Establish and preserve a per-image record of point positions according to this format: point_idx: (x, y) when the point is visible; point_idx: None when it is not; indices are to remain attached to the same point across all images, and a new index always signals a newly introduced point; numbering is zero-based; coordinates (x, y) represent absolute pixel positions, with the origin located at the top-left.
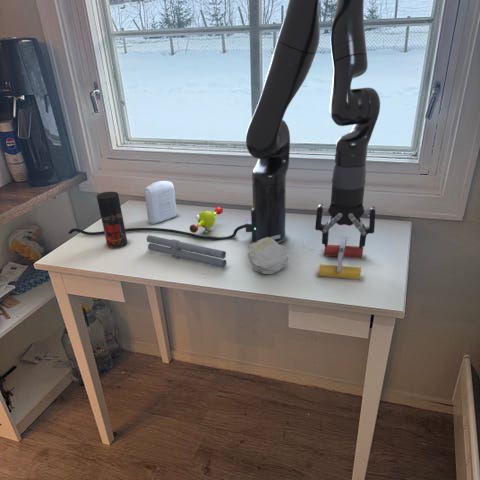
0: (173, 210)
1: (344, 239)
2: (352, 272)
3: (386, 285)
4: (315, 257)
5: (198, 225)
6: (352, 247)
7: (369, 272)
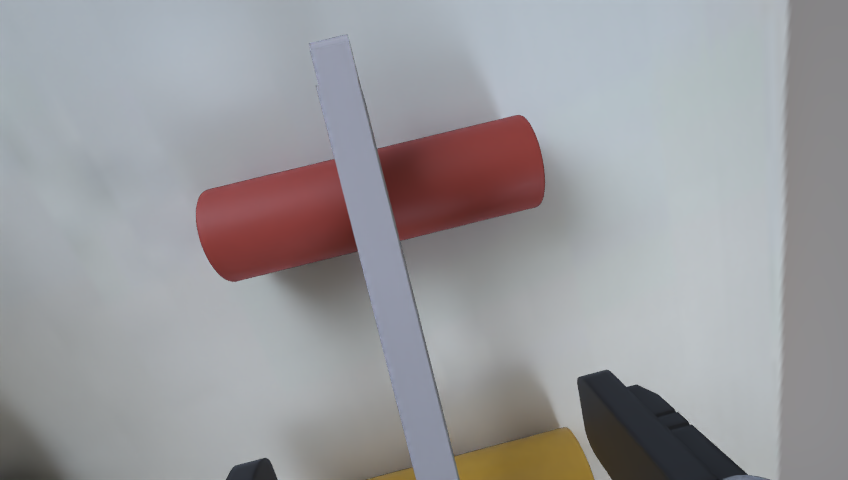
0: None
1: (373, 225)
2: None
3: None
4: (197, 291)
5: None
6: (453, 199)
7: (600, 345)
